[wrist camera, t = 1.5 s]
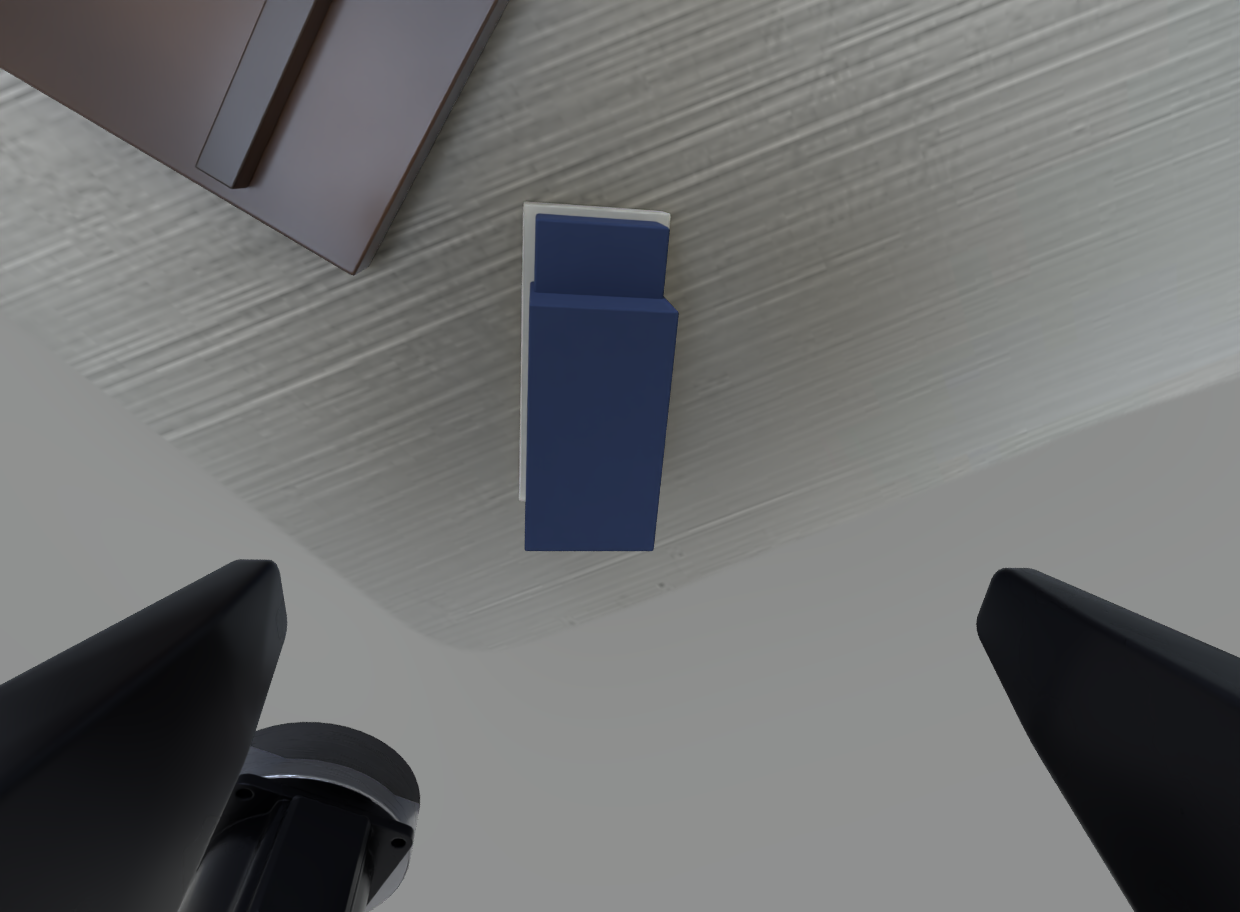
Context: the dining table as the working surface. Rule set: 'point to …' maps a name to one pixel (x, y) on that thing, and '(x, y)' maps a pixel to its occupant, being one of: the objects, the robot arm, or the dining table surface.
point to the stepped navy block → (593, 375)
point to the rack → (265, 96)
